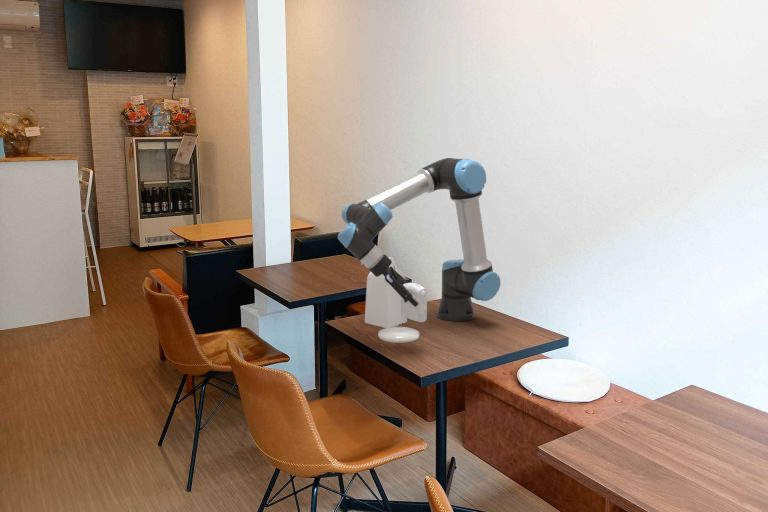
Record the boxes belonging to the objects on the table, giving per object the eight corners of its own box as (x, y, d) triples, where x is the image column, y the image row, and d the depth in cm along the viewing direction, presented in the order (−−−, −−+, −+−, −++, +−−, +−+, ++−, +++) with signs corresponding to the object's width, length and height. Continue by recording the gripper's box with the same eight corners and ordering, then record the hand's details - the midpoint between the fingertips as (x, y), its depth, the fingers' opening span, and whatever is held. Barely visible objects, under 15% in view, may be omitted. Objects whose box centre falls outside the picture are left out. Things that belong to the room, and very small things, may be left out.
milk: (407, 321, 257) (407, 256, 252) (388, 328, 248) (389, 261, 243) (383, 316, 264) (383, 252, 259) (364, 322, 256) (364, 257, 250)
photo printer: (399, 316, 226) (399, 281, 224) (408, 314, 229) (408, 279, 226) (419, 323, 218) (419, 287, 216) (428, 321, 221) (429, 285, 218)
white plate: (418, 330, 247) (418, 327, 247) (420, 343, 232) (420, 340, 232) (378, 329, 247) (378, 326, 247) (377, 342, 232) (377, 339, 232)
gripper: (369, 262, 231) (414, 305, 234) (367, 276, 210) (416, 324, 212) (384, 247, 230) (429, 291, 233) (383, 260, 208) (432, 308, 211)
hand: (423, 307), depth 223 cm, fingers closed on photo printer, 9 cm apart
